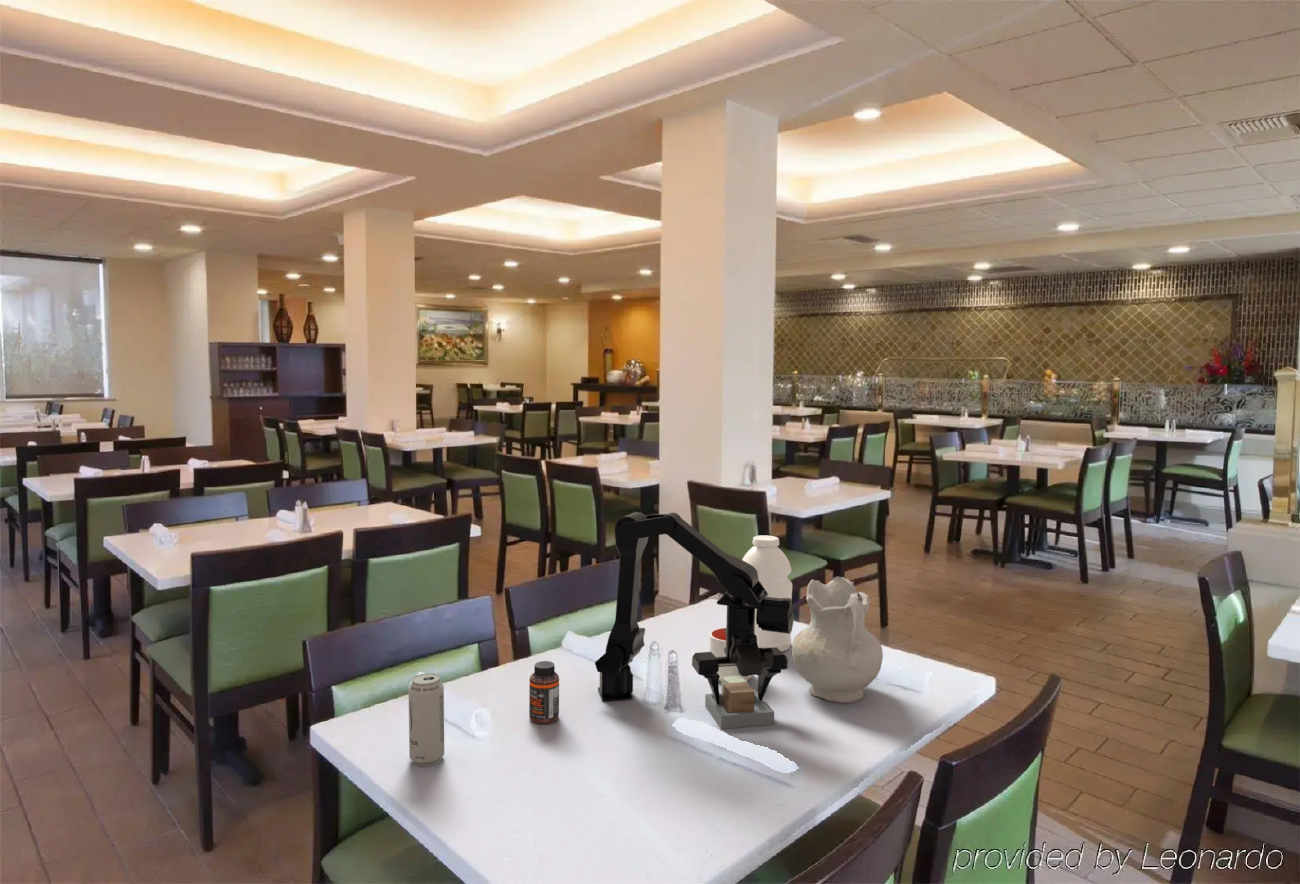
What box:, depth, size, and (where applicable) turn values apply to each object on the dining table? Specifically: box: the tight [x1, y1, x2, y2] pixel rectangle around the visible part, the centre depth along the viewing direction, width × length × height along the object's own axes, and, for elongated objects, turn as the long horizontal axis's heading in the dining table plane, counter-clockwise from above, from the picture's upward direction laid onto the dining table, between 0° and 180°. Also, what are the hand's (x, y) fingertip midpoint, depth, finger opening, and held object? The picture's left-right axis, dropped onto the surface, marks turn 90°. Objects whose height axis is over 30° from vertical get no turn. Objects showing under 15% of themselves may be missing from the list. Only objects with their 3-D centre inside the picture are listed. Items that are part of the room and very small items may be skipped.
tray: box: [704, 689, 775, 730], centre depth 163 cm, size 11×11×3 cm
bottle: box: [741, 534, 793, 653], centre depth 204 cm, size 14×14×28 cm
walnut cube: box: [723, 681, 755, 713], centre depth 163 cm, size 5×5×5 cm
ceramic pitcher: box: [791, 575, 884, 704], centre depth 173 cm, size 22×20×25 cm
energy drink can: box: [408, 672, 445, 767], centre depth 142 cm, size 6×6×15 cm
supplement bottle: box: [528, 660, 560, 725], centre depth 160 cm, size 6×6×11 cm
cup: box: [709, 627, 753, 682], centre depth 183 cm, size 10×10×10 cm
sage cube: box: [720, 675, 748, 693], centre depth 172 cm, size 4×4×4 cm
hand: (738, 701), depth 163 cm, fingers open, 9 cm apart
